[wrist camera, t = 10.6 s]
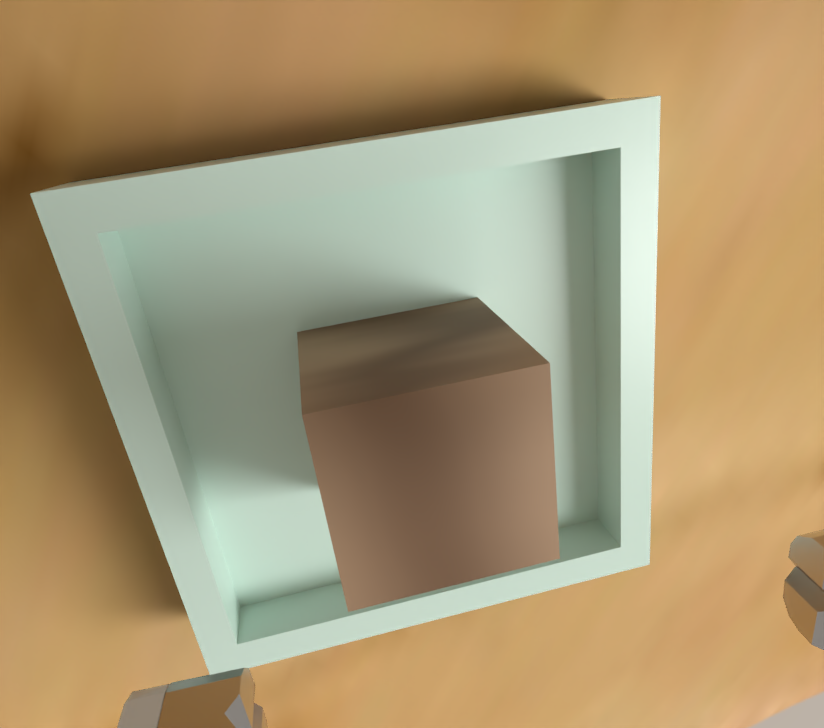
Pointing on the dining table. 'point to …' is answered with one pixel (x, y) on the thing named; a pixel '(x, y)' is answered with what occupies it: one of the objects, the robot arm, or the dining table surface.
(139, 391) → the tray
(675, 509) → the dining table surface
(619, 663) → the dining table surface
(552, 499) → the block
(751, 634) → the dining table surface
